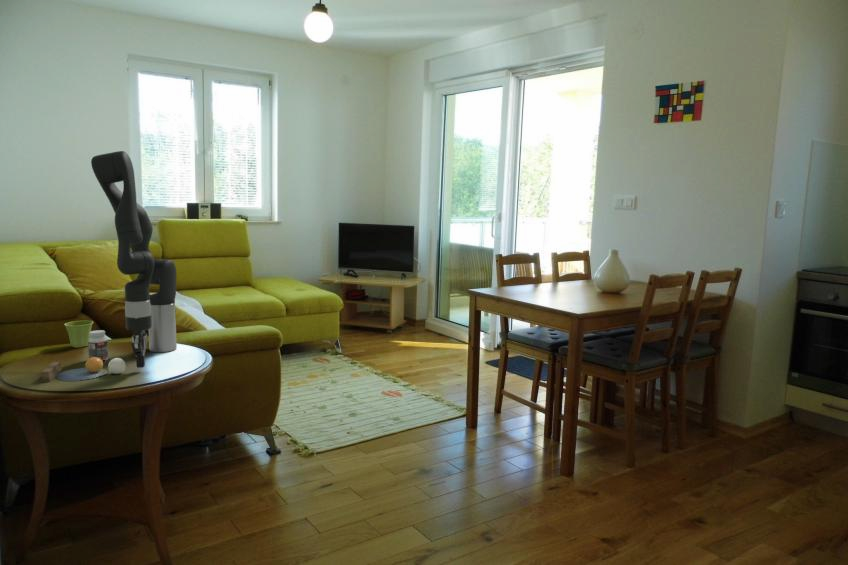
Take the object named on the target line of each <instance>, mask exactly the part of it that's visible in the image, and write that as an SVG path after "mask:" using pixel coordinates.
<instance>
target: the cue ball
mask: <svg viewBox="0 0 848 565" xmlns="http://www.w3.org/2000/svg"><path fill="white" fill-rule="evenodd" d="M107 368H108V371H109V372H110V373H111V374H115V375H118V374H119V375H120V374H121V373H123V372H124V371H125V369H126V362H125V360H123V359H122V358H120V357H115V358H112V359H111V360H110V361H109V362H108V365H107Z"/></svg>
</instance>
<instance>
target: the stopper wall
mask: <svg viewBox="0 0 848 565" xmlns="http://www.w3.org/2000/svg"><path fill="white" fill-rule="evenodd" d="M61 371H62V362H61V361H59V360H58V361H53V362H52V363H51V364H49V365H48V366H47V367H46V368H44V369H43V370H42V371H41V372H40V373H41V375H40V376H41V383H47V382H51V381H52V380H53V379H54V378H56V376H57V375H58V374H60V373H61Z"/></svg>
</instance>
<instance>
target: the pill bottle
mask: <svg viewBox="0 0 848 565" xmlns="http://www.w3.org/2000/svg"><path fill="white" fill-rule="evenodd" d="M90 336H91V337H90V339H89V340H88V345H89V346H88V359H90V358H92V357H97V358H100V359H101V360H102V362H104V361H103V360H105V361H107V360H108V358H109V352H108V351H109V349H108V348H109V347H108V338H107V337H106V331H105V330H103V329H99V330H91V332H90Z"/></svg>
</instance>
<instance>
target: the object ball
mask: <svg viewBox="0 0 848 565" xmlns="http://www.w3.org/2000/svg"><path fill="white" fill-rule="evenodd" d="M84 366H85V367H84V368H86V369H87V371H89V372H91V373H97V372H99V371H100V370H101V369H102V368H103V367H104V361H102V360H101V359H100V358H97V357H92V358H90V359H89V358H88V359H87V360H86V362H85V365H84Z"/></svg>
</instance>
